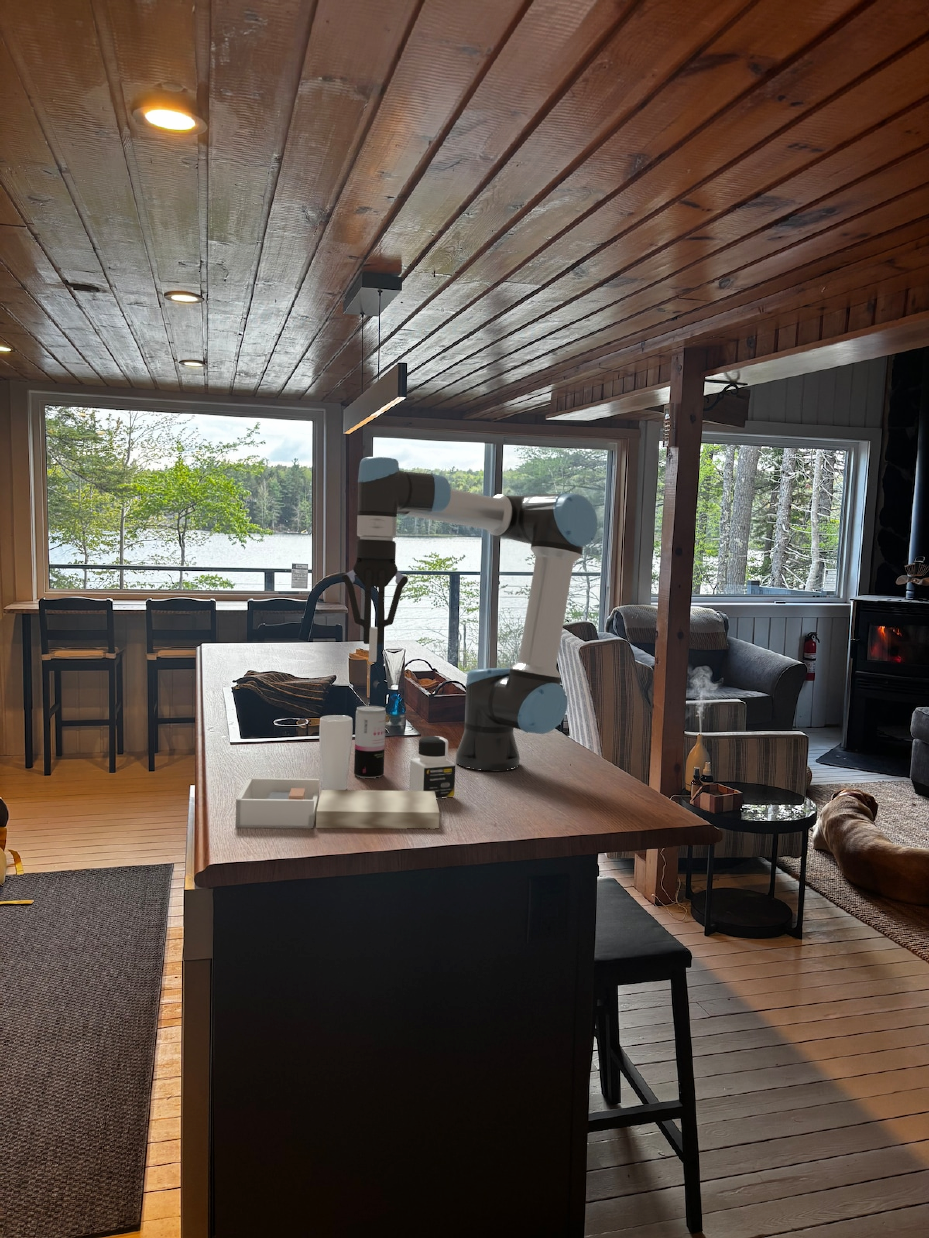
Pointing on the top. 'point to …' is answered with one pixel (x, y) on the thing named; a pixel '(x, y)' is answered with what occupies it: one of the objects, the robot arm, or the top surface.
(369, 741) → the beverage can
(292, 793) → the terracotta tile
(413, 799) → the board
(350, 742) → the white cylinder
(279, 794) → the slate tile
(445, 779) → the medicine bottle
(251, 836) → the top surface
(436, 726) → the top surface
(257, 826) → the tray
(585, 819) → the top surface
